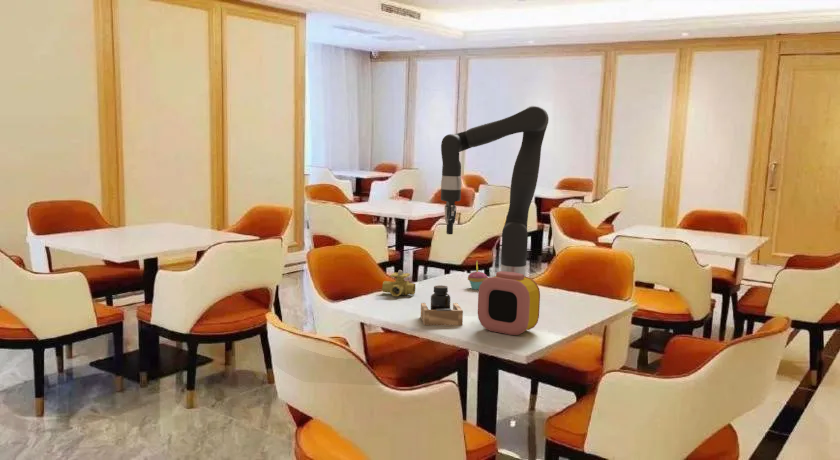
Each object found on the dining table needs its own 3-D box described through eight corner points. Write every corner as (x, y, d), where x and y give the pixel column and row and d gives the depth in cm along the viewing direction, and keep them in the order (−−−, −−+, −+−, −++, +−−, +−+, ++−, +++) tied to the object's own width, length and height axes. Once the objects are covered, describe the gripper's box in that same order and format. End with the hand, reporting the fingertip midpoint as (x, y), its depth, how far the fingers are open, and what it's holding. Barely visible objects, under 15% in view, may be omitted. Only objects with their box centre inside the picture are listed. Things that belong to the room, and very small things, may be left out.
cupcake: (464, 286, 313) (465, 259, 312) (482, 286, 316) (484, 258, 314) (471, 290, 305) (472, 262, 304) (490, 290, 308) (491, 261, 306)
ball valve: (416, 294, 296) (416, 269, 295) (409, 299, 286) (410, 274, 285) (386, 292, 299) (386, 267, 298) (378, 297, 289) (379, 272, 288)
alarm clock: (475, 329, 244) (477, 272, 242) (490, 322, 253) (493, 267, 251) (525, 339, 234) (528, 279, 232) (540, 331, 243) (543, 274, 241)
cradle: (420, 316, 259) (420, 301, 258) (456, 316, 260) (457, 302, 260) (424, 325, 247) (424, 309, 247) (462, 325, 249) (462, 309, 248)
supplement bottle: (438, 317, 259) (439, 283, 258) (453, 320, 255) (454, 286, 254) (426, 320, 254) (427, 286, 253) (441, 324, 250) (442, 289, 248)
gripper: (463, 189, 268) (462, 236, 270) (458, 187, 281) (456, 231, 283) (443, 189, 267) (442, 236, 269) (438, 186, 280) (437, 231, 282)
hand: (449, 234), depth 276 cm, fingers closed
